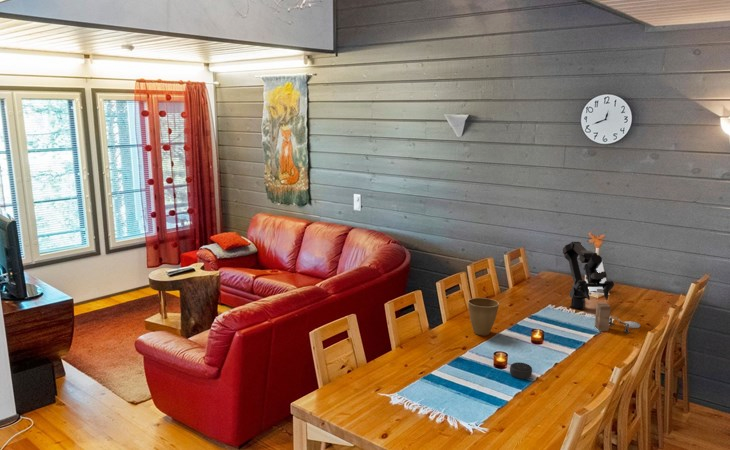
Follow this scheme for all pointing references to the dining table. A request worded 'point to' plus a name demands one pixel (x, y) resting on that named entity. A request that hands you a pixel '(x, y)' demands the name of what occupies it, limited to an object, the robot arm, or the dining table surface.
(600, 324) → the taupe upright block
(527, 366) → the smart speaker
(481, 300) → the plant pot
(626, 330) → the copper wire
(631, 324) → the pad
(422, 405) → the dining table surface
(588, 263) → the robot arm
